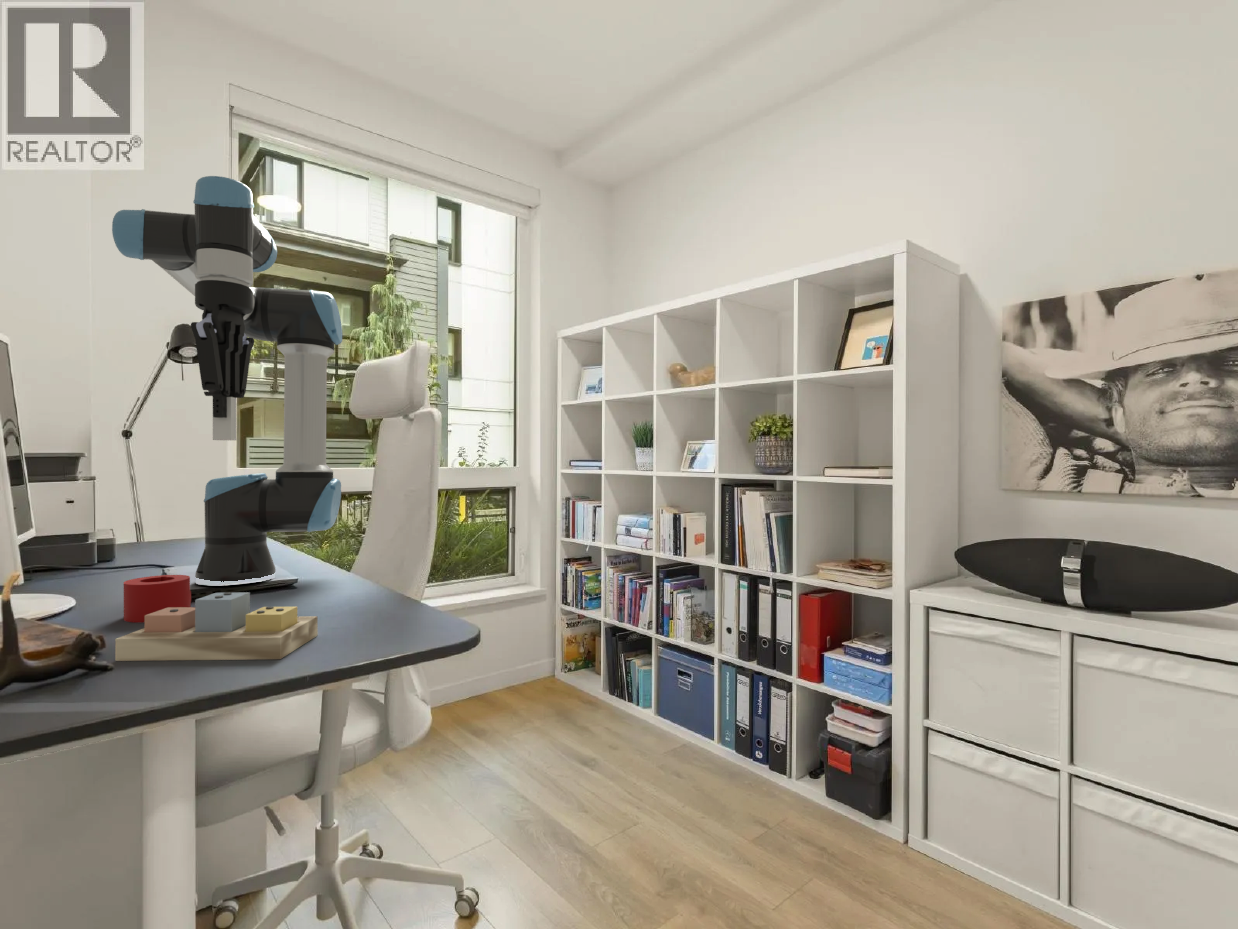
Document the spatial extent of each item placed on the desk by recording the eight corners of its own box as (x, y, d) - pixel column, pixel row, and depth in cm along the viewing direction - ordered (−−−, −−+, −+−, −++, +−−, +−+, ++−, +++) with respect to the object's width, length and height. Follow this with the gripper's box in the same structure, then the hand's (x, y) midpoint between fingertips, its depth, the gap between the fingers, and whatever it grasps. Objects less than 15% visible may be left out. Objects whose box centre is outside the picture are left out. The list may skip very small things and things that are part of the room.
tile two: (215, 626, 97) (215, 591, 97) (249, 625, 97) (249, 591, 97) (195, 635, 92) (195, 598, 92) (231, 634, 92) (231, 598, 92)
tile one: (167, 640, 96) (167, 606, 96) (202, 640, 97) (202, 605, 96) (144, 650, 91) (144, 614, 91) (180, 650, 92) (180, 613, 92)
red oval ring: (179, 622, 110) (179, 583, 110) (113, 626, 107) (113, 586, 107) (210, 600, 127) (210, 566, 127) (154, 603, 124) (154, 568, 124)
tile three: (263, 640, 97) (263, 605, 97) (297, 639, 97) (297, 605, 97) (245, 649, 92) (245, 613, 92) (281, 649, 92) (281, 613, 92)
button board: (172, 636, 100) (172, 617, 100) (317, 635, 101) (317, 616, 101) (115, 660, 88) (115, 638, 88) (280, 659, 89) (280, 637, 89)
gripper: (223, 295, 104) (223, 441, 104) (171, 271, 91) (171, 438, 91) (271, 295, 104) (271, 441, 105) (225, 272, 91) (225, 438, 92)
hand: (224, 440), depth 98 cm, fingers closed
